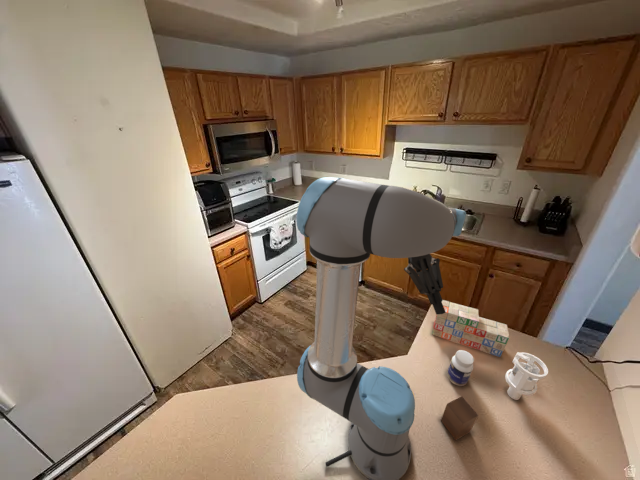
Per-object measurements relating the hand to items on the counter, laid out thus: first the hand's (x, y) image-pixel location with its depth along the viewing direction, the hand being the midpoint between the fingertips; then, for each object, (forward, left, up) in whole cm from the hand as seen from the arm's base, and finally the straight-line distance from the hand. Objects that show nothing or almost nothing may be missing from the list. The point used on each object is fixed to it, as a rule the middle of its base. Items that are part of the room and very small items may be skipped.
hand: (440, 313), depth 81 cm
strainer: (+11, -21, -17) cm, 29 cm away
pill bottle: (0, -11, -17) cm, 20 cm away
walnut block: (-11, -21, -17) cm, 29 cm away
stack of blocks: (+14, -1, -17) cm, 22 cm away
